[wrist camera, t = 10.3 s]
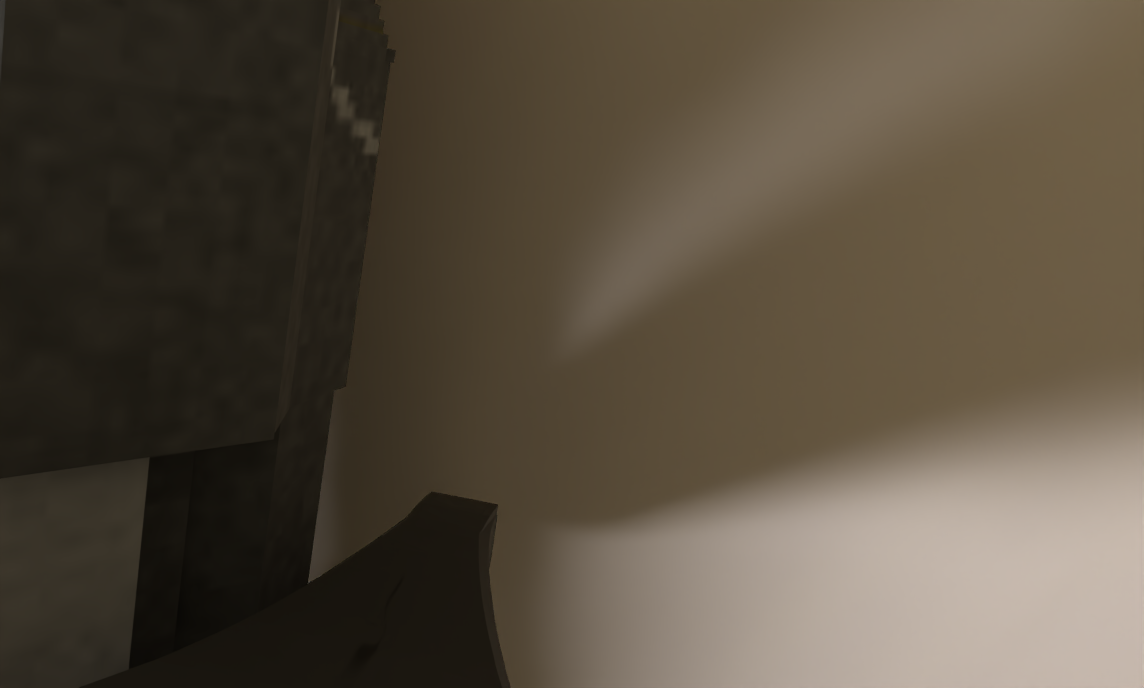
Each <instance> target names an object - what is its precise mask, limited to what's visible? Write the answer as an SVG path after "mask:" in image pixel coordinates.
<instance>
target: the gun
mask: <svg viewBox="0 0 1144 688" xmlns="http://www.w3.org/2000/svg"><path fill="white" fill-rule="evenodd" d="M374 3H375V0H0V688H79V687H81V686H84V685H87V684H90V683H92V682H95V681H98V680H101V679H104V678H106V677H109V676H112V675H115V674H117V673H120V672H123V671H126V670H128V669H131V668H134V667H137V666H140V665H142V664H145V663H148V662H151V661H153V660H156V659H158V658H161V657H163V656H166V655H168V654H171V653H173V652H175V651H178V650H180V649H182V648H184V647H187V646H189V645H191V644H193V643H195V642H198V641H200V640H202V639H204V638H207V637H209V636H211V635H213V634H215V633H218V632H220V631H222V630H224V629H226V628H228V627H230V626H232V625H234V624H236V623H238V622H240V621H242V620H244V619H246V618H248V617H250V616H252V615H254V614H256V613H258V612H260V611H262V610H264V609H266V608H267V607H269V606H271V605H272V604H274V603H276V602H278V601H279V600H281V599H283V598H284V597H286V596H288V595H290V594H291V593H293V592H295V591H296V590H298V589H300V588H302V587H303V586H305V585H307V584H308V577H309V570H310V563H311V555H312V548H313V541H314V533H315V526H316V519H317V511H318V504H319V497H320V489H321V482H322V475H323V467H324V460H325V453H326V445H327V438H328V431H329V423H330V416H331V409H332V401H333V394H334V391H335V390H337V389H340V388H343V387H345V386H346V379H347V372H348V365H349V358H350V350H351V343H352V336H353V329H354V321H355V314H356V307H357V300H358V293H359V285H360V278H361V271H362V264H363V257H364V249H365V242H366V235H367V228H368V221H369V213H370V206H371V199H372V192H373V184H374V177H375V170H376V163H377V156H378V148H379V141H380V134H381V127H382V120H383V112H384V105H385V98H386V91H387V84H388V76H389V69H390V62H392V63H394V59H395V52H396V50H392V49H388V48H387V42H388V35H384V34H383V27H384V21H382V20H379V12H380V6H378V5H375V4H374Z"/></svg>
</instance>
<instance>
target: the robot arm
mask: <svg viewBox="0 0 1144 688" xmlns="http://www.w3.org/2000/svg"><path fill="white" fill-rule="evenodd" d="M497 508H498V505H497V504H492V503H487V502H482V501H477V500H472V499H467V498H462V497H457V496H451V495H446V494H441V493H436V492H431V493H429V494H428V495H427V496H426V497H425V498H424V499H423V500H421V501H420V502H419V503H418V505H417V506H416V507H415V508H414V509H413V510H412V511H411V513H410V514H409V515H408V517H406V518H405V519H404V520H402V521H401V522H399V523H398V524H397V525H395V526H394V527H393V528H391V529H390V530H388V531H387V532H386V533H384V534H383V535H381V536H380V537H378V538H377V539H376V540H374V541H373V542H371V543H370V544H369V545H367V546H366V547H364V548H363V549H361V550H360V551H358V552H357V553H355V554H354V555H352V556H351V557H349V558H348V559H346V560H345V561H343V562H341V563H340V564H338V565H337V566H335V567H334V568H332V569H331V570H329V571H328V572H326V573H325V574H323V575H322V576H320V577H319V578H317V579H315V580H314V581H312V582H310V583H309V584H307V585H305V586H303V587H302V588H300V589H298V590H296V591H295V592H293V593H291V594H290V595H288V596H286V597H284V598H283V599H281V600H279V601H278V602H276V603H274V604H272V605H271V606H269V607H267V608H266V609H264V610H262V611H260V612H258V613H256V614H254V615H252V616H250V617H248V618H246V619H244V620H242V621H240V622H238V623H236V624H234V625H232V626H230V627H228V628H226V629H224V630H222V631H220V632H218V633H215V634H213V635H211V636H209V637H207V638H204V639H202V640H200V641H198V642H195V643H193V644H191V645H189V646H187V647H184V648H182V649H180V650H178V651H175V652H173V653H171V654H168V655H166V656H163V657H161V658H158V659H156V660H153V661H151V662H148V663H145V664H142V665H140V666H137V667H134V668H131V669H128V670H126V671H123V672H120V673H117V674H115V675H112V676H109V677H106V678H104V679H101V680H98V681H95V682H92V683H90V684H87V685H84V686H81V687H79V688H510V684H509V681H508V677H507V674H506V670H505V666H504V661H503V657H502V653H501V649H500V645H499V640H498V635H497V630H496V624H495V618H494V611H493V603H492V596H491V588H490V578H489V567H490V561H491V554H492V547H493V541H494V534H495V528H496V521H497Z"/></svg>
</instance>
